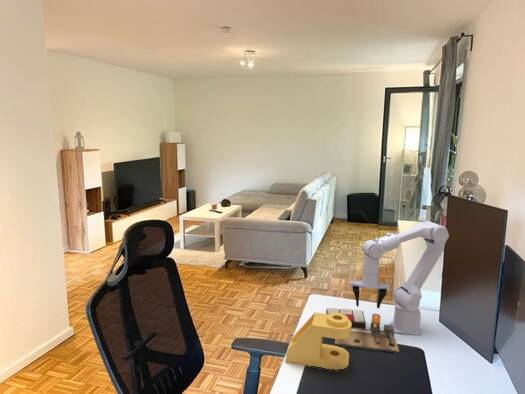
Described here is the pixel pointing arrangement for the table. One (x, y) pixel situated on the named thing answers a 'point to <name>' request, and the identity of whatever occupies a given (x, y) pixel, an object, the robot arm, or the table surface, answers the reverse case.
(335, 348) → the yellow clevis bracket
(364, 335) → the board
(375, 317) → the slider leg
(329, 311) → the button panel
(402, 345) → the table surface
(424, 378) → the table surface
